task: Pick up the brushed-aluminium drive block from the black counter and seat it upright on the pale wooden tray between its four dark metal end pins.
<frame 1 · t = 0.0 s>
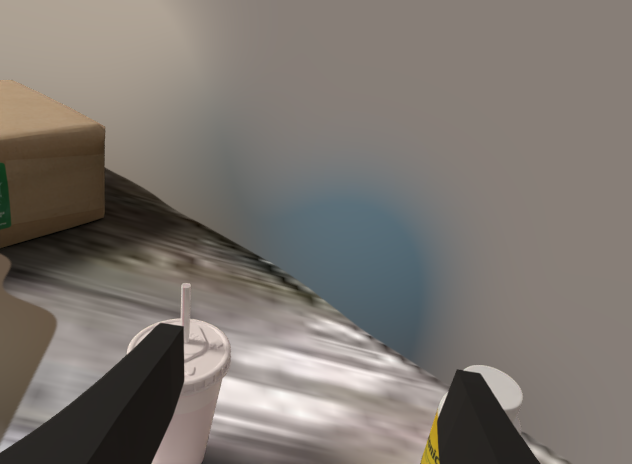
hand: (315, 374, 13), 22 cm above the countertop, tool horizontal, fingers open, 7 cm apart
smoothie: (177, 456, 35), on the countertop
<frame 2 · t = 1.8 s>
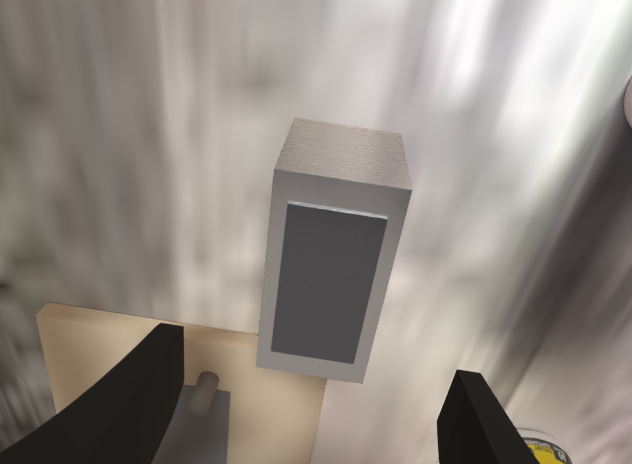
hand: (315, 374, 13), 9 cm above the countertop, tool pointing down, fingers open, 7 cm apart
pin tray: (189, 424, 28), on the countertop
supplement bottle: (513, 454, 27), on the countertop
drive: (332, 217, 20), on the countertop
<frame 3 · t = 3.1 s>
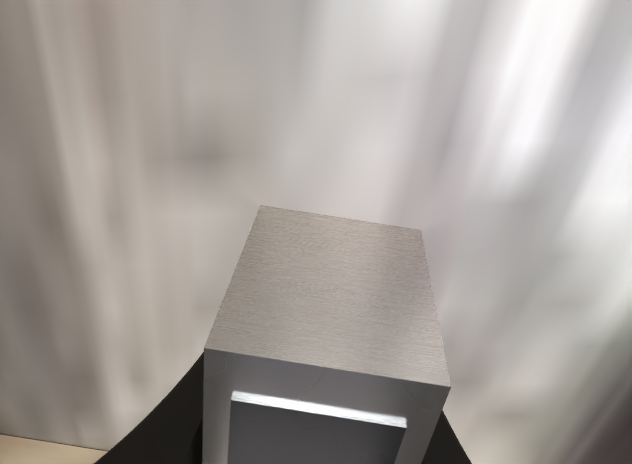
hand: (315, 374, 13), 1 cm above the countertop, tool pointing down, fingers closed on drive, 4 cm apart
drive: (319, 337, 14), on the countertop, touching gripper
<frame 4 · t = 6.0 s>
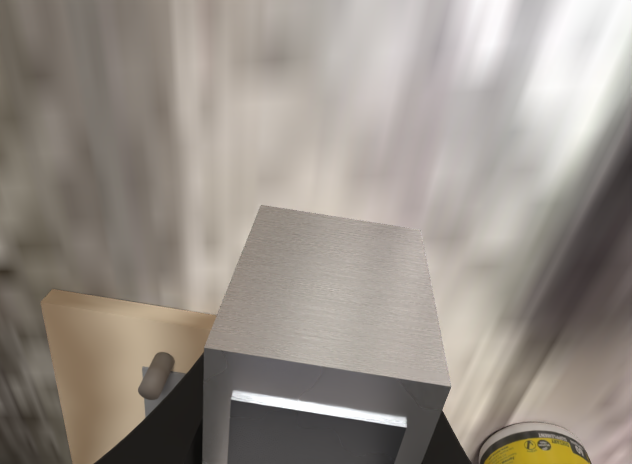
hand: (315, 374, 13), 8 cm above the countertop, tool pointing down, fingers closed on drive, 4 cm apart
pin tray: (196, 416, 27), on the countertop
supplement bottle: (527, 448, 26), on the countertop
drive: (319, 337, 14), point 7 cm above the countertop, touching gripper
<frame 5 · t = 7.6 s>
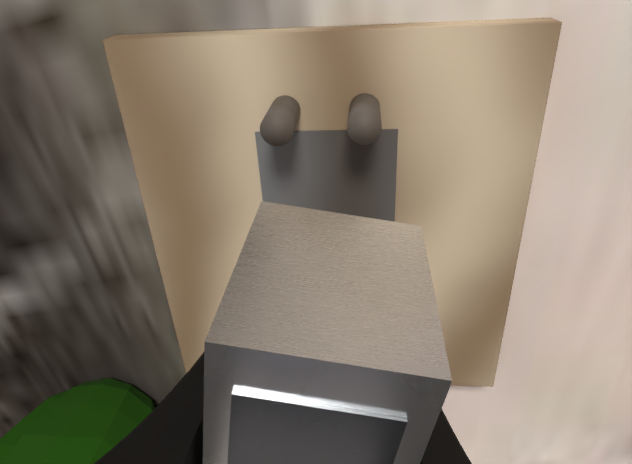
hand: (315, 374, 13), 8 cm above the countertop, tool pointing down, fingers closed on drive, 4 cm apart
pin tray: (331, 228, 20), on the countertop
bell pepper: (118, 409, 27), on the countertop
drive: (319, 333, 14), point 6 cm above the countertop, touching gripper
when the fingers open (4 cm above the countertop, at t = 8.8 s): drive drops 1 cm, resting on pin tray.
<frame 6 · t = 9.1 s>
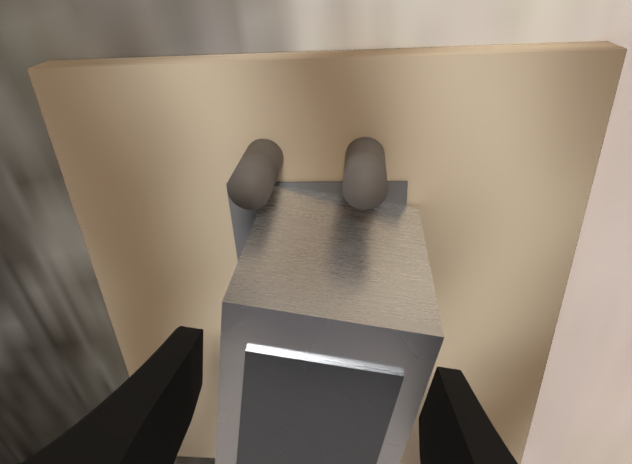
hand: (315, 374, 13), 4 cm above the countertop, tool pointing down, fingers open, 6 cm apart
pin tray: (324, 291, 16), on the countertop
drive: (322, 311, 15), point 1 cm above the countertop, touching pin tray
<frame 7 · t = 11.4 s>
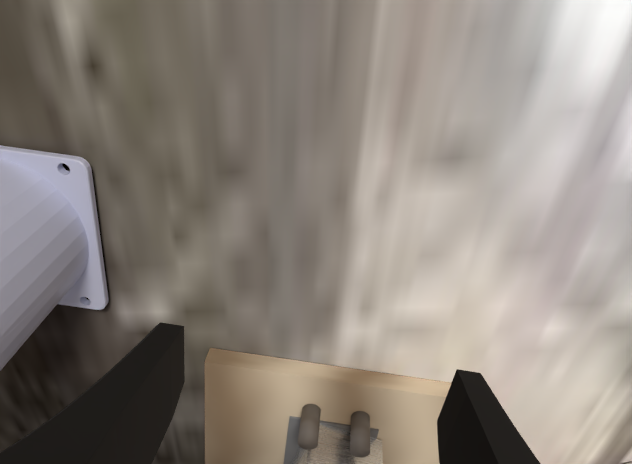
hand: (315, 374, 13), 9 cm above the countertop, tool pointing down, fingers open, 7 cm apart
pin tray: (325, 456, 29), on the countertop
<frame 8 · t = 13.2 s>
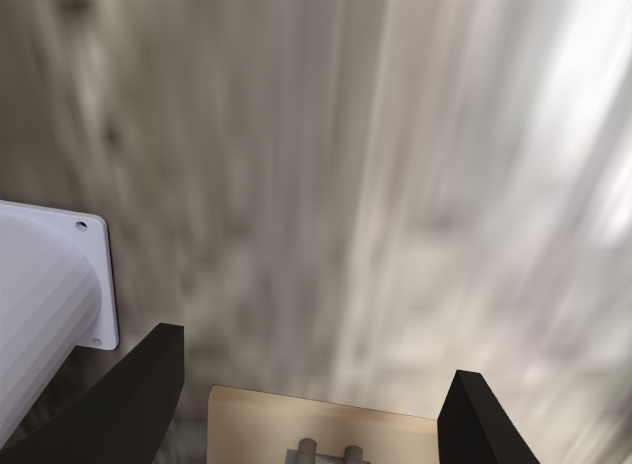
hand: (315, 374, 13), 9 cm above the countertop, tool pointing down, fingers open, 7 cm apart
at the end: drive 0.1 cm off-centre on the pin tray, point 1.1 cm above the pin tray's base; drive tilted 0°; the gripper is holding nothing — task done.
